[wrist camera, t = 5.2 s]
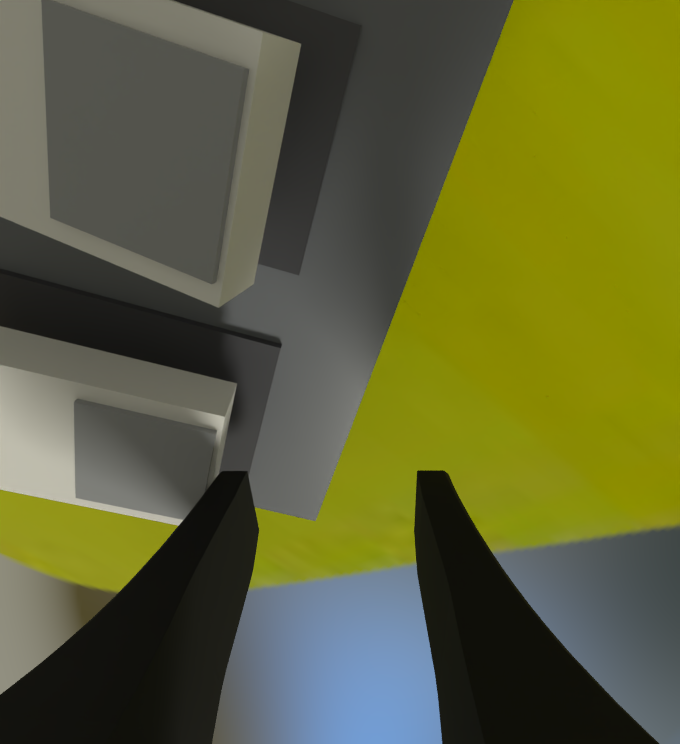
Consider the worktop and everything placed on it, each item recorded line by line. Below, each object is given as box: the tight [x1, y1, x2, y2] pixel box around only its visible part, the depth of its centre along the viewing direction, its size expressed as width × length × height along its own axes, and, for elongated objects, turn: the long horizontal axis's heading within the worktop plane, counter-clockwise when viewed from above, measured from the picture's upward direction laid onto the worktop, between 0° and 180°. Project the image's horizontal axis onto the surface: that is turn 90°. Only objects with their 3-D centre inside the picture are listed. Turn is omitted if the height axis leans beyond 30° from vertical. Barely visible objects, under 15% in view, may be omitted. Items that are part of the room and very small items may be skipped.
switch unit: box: [0, 0, 513, 521], centre depth 10 cm, size 13×20×3 cm, turn 164°
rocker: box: [0, 326, 237, 525], centre depth 11 cm, size 7×4×1 cm, turn 74°
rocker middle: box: [0, 0, 301, 308], centre depth 7 cm, size 7×4×1 cm, turn 74°
